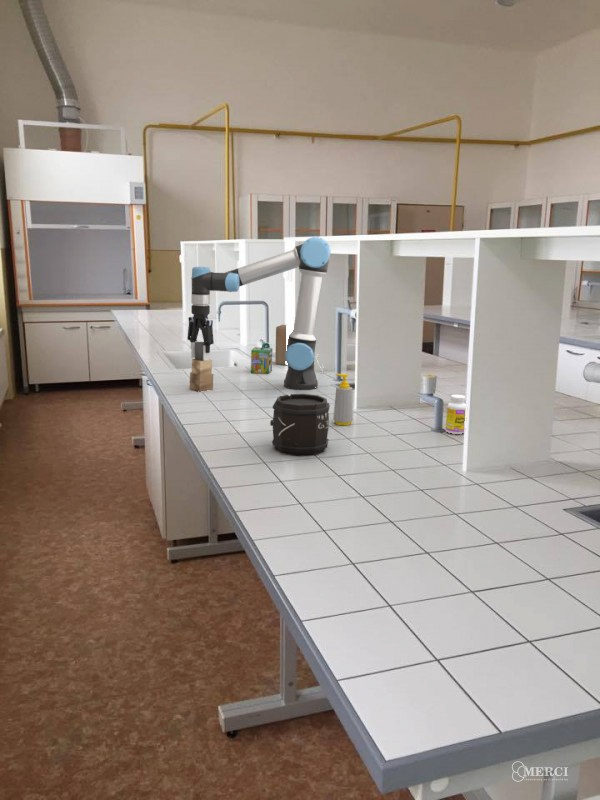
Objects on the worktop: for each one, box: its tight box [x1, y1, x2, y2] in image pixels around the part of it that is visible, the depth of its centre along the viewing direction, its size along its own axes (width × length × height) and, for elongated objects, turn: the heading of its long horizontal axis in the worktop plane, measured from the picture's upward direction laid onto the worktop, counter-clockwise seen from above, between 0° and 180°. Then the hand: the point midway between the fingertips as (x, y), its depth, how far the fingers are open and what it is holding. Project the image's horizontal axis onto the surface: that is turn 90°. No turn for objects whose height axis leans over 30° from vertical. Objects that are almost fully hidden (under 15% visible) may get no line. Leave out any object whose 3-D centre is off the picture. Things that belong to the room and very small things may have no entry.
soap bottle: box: [333, 373, 354, 426], centre depth 238 cm, size 7×7×18 cm
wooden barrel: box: [269, 393, 331, 457], centre depth 208 cm, size 18×18×16 cm
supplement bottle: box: [445, 394, 467, 435], centre depth 231 cm, size 7×7×13 cm
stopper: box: [194, 341, 204, 360], centre depth 285 cm, size 6×6×7 cm
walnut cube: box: [189, 371, 214, 393], centre depth 288 cm, size 7×7×7 cm
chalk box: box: [250, 341, 273, 375], centre depth 329 cm, size 9×9×15 cm
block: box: [275, 324, 287, 365], centre depth 353 cm, size 10×10×20 cm
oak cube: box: [191, 358, 213, 376], centre depth 286 cm, size 6×6×6 cm
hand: (200, 358), depth 286 cm, fingers open, 8 cm apart
